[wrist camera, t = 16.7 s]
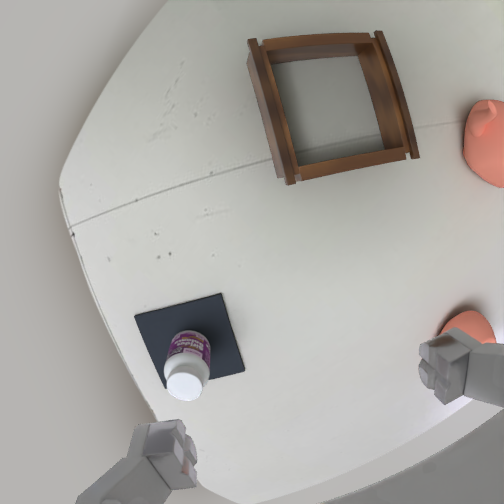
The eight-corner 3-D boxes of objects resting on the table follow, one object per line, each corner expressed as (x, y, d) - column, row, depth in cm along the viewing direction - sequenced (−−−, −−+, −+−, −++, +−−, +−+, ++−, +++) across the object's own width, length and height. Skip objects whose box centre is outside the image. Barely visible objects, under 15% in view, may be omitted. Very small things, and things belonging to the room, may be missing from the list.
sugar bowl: (440, 304, 45) (480, 327, 35) (488, 307, 47) (524, 326, 37) (418, 369, 47) (450, 400, 37) (468, 364, 49) (499, 388, 39)
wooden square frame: (243, 57, 35) (247, 39, 29) (364, 45, 36) (382, 30, 30) (277, 185, 39) (287, 185, 33) (397, 160, 40) (420, 157, 34)
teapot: (441, 80, 38) (492, 61, 26) (512, 135, 41) (559, 132, 29) (429, 154, 40) (486, 149, 28) (503, 200, 43) (553, 207, 31)
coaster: (134, 315, 40) (133, 316, 39) (220, 293, 40) (220, 294, 40) (165, 387, 42) (165, 389, 42) (244, 369, 43) (244, 371, 43)
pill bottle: (205, 325, 41) (203, 363, 31) (214, 359, 42) (214, 402, 32) (165, 332, 40) (153, 371, 31) (176, 365, 41) (168, 408, 32)
